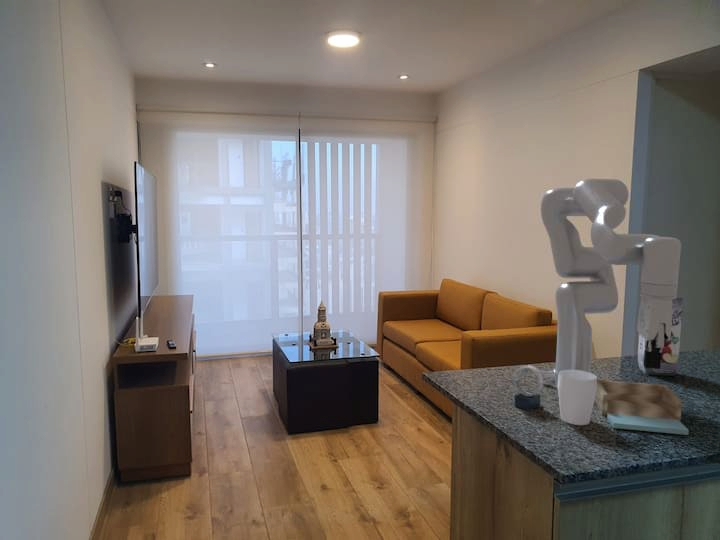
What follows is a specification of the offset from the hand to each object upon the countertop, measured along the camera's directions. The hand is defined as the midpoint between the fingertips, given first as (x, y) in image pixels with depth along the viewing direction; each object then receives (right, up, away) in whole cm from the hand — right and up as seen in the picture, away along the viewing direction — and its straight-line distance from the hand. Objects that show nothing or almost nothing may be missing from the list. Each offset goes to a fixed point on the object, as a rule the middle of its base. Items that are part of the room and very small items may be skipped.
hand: (651, 367), depth 125 cm
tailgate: (+1, -15, +7) cm, 16 cm away
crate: (+3, -14, +14) cm, 20 cm away
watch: (-24, -14, +18) cm, 33 cm away
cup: (-15, -15, +8) cm, 23 cm away
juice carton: (+28, -11, +48) cm, 57 cm away
